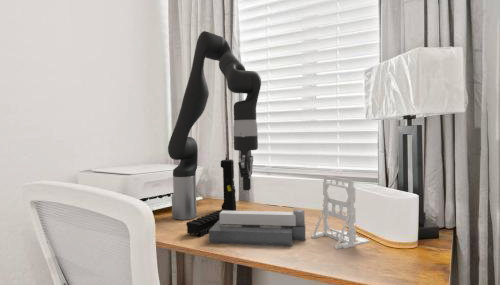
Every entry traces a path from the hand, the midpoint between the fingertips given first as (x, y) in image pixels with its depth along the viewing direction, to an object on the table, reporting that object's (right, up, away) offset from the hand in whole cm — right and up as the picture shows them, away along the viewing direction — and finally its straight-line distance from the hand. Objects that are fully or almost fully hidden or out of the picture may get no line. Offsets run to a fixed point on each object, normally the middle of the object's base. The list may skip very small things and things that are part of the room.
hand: (246, 190), depth 104 cm
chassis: (+4, -16, +6) cm, 18 cm away
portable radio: (-8, -16, +41) cm, 45 cm away
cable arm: (+5, -12, +6) cm, 14 cm away
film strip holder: (+30, -16, +2) cm, 34 cm away
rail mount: (-14, -17, +16) cm, 27 cm away
